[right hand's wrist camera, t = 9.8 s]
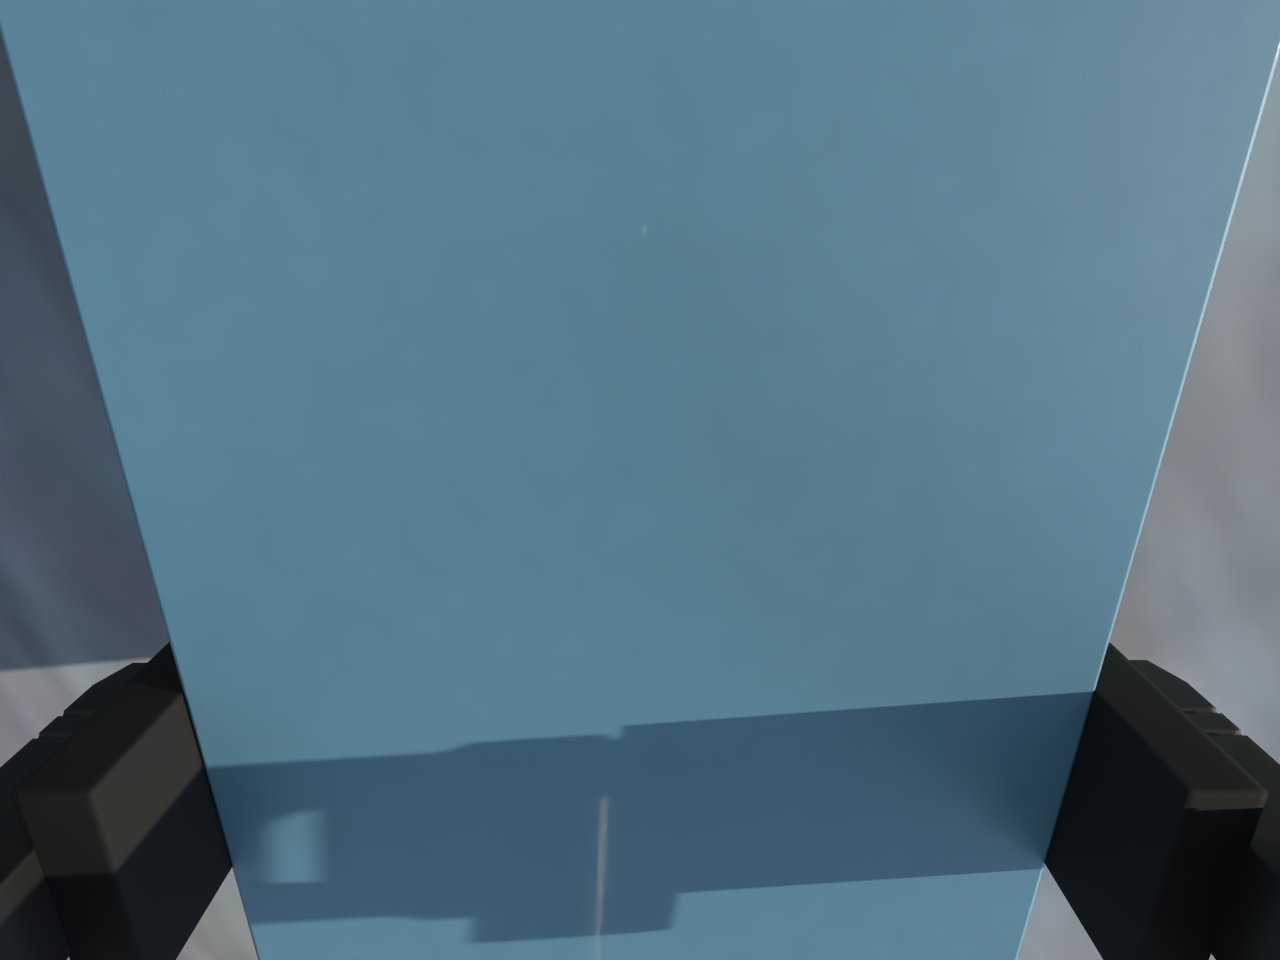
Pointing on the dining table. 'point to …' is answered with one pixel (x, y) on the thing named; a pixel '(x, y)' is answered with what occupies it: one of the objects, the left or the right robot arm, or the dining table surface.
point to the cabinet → (640, 437)
